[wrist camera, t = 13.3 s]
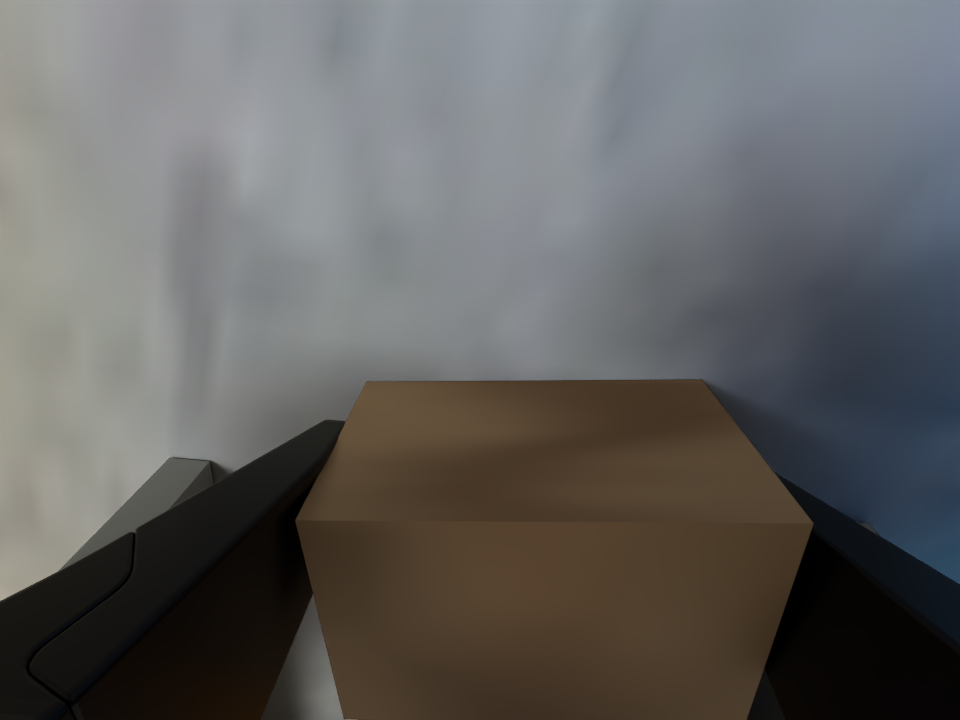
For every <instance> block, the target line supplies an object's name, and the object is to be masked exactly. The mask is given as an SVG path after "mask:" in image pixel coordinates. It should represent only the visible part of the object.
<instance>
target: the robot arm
mask: <svg viewBox="0 0 960 720" xmlns="http://www.w3.org/2000/svg"><path fill="white" fill-rule="evenodd" d="M345 423H346V421H337V420H325V421H322V422H321V423H319V424H317V425H315V426H314V427H312V428H310V429H308V430H307V431H305V432H303V433H301V434H300V435H298V436H296V437H294V438H293V439H291V440H289V441H287V442H286V443H284V444H282V445H280V446H279V447H277V448H275V449H273V450H272V451H270V452H268V453H266V454H265V455H263V456H261V457H259V458H258V459H256V460H254V461H252V462H251V463H249V464H247V465H245V466H244V467H242V468H240V469H238V470H237V471H235V472H233V473H231V474H230V475H228V476H226V477H224V478H223V479H221V480H219V481H217V482H216V483H214V484H212V485H210V486H209V487H207V488H205V489H203V490H202V491H200V492H198V493H196V494H195V495H193V496H191V497H190V498H188V499H186V500H184V501H183V502H181V503H179V504H177V505H176V506H174V507H172V508H170V509H169V510H167V511H165V512H163V513H162V514H160V515H158V516H156V517H154V518H153V519H151V520H149V521H147V522H146V523H144V524H142V525H140V526H139V527H137V528H136V530H135V533H134V532H132V531H131V532H128V533H126V534H124V535H123V536H121V537H119V538H117V539H116V540H114V541H112V542H110V543H109V544H107V545H105V546H103V547H102V548H100V549H98V550H96V551H94V552H93V553H91V554H89V555H87V556H85V557H84V558H82V559H80V560H78V561H76V562H74V563H73V564H71V565H69V566H67V567H65V568H64V569H62V570H60V571H58V572H56V573H54V574H53V575H51V576H49V577H47V578H45V579H43V580H41V581H39V582H37V583H35V584H33V585H31V586H29V587H27V588H25V589H23V590H21V591H19V592H17V593H15V594H13V595H12V596H10V597H8V598H6V599H4V600H2V601H0V720H261V717H262V715H263V712H264V710H265V708H266V705H267V703H268V700H269V698H270V696H271V693H272V691H273V688H274V686H275V684H276V681H277V679H278V676H279V674H280V672H281V669H282V667H283V664H284V662H285V660H286V657H287V655H288V652H289V650H290V648H291V645H292V643H293V640H294V638H295V636H296V633H297V631H298V628H299V626H300V623H301V621H302V619H303V616H304V614H305V611H306V609H307V607H308V604H309V602H310V599H311V597H312V595H313V591H312V587H311V583H310V579H309V575H308V570H307V566H306V562H305V558H304V554H303V550H302V546H301V542H300V538H299V534H298V530H297V526H296V522H295V520H296V518H297V516H298V514H299V512H300V510H301V508H302V506H303V504H304V502H305V500H306V498H307V496H308V495H309V493H310V491H311V489H312V487H313V485H314V483H315V481H316V479H317V477H318V475H319V474H320V472H321V471H322V469H323V468H324V466H325V464H326V462H327V461H328V459H329V457H330V455H331V453H332V451H333V449H334V447H335V445H336V442H337V440H338V437H339V434H340V432H341V430H342V428H343V427H344V425H345ZM774 473H775V472H774ZM775 474H776V473H775ZM776 476H777V477H778V478H779V480H780V481H781V482H782V483H783V485H784V486H785V487H786V489H787V490H788V491H789V492H790V494H791V495H792V496H793V498H794V499H795V500H796V501H797V503H798V504H799V505H800V507H801V508H802V509H803V510H804V512H805V513H806V514H807V516H808V517H809V518H810V519H811V521H812V522H813V523H814V524H813V527H812V530H811V533H810V536H809V539H808V541H807V544H806V547H805V550H804V553H803V556H802V559H801V562H800V565H799V568H798V571H797V574H796V577H795V579H794V582H793V585H792V588H791V591H790V594H789V597H788V600H787V603H786V606H785V609H784V612H783V615H782V617H781V620H780V623H779V626H778V629H777V632H776V635H775V638H774V641H773V644H772V647H771V650H770V653H769V656H768V658H767V661H766V664H765V667H764V669H765V671H766V674H767V676H768V679H769V681H770V684H771V686H772V689H773V691H774V694H775V696H776V699H777V701H778V704H779V706H780V709H781V711H782V714H783V716H784V719H785V720H960V584H958V583H957V582H955V581H953V580H952V579H950V578H948V577H947V576H945V575H943V574H942V573H940V572H938V571H937V570H935V569H933V568H932V567H930V566H928V565H927V564H925V563H924V562H922V561H920V560H919V559H917V558H915V557H914V556H912V555H910V554H909V553H907V552H905V551H904V550H902V549H900V548H899V547H897V546H895V545H894V544H892V543H890V542H889V541H887V540H885V539H884V538H882V537H881V536H879V535H877V534H876V533H874V532H872V531H871V530H869V529H867V528H866V527H864V526H862V525H861V524H859V523H857V522H856V521H854V520H852V519H851V518H849V517H847V516H846V515H844V514H842V513H841V512H839V511H838V510H836V509H834V508H833V507H831V506H829V505H828V504H826V503H824V502H823V501H821V500H819V499H818V498H816V497H814V496H813V495H811V494H809V493H808V492H806V491H804V490H803V489H801V488H800V487H798V486H796V485H795V484H793V483H791V482H790V481H788V480H786V479H785V478H783V477H781V476H780V475H778V474H776Z"/></svg>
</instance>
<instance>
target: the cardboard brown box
mask: <svg viewBox="0 0 960 720" xmlns="http://www.w3.org/2000/svg"><path fill="white" fill-rule="evenodd" d="M295 522H296V526H297V530H298V534H299V538H300V542H301V546H302V550H303V554H304V558H305V562H306V566H307V570H308V575H309V579H310V583H311V587H312V591H313V595H314V599H315V603H316V607H317V611H318V615H319V619H320V623H321V628H322V632H323V636H324V640H325V644H326V648H327V652H328V656H329V660H330V664H331V668H332V672H333V676H334V680H335V685H336V689H337V693H338V697H339V701H340V705H341V709H342V713H343V717H344V719H362V720H747V717H748V714H749V711H750V708H751V705H752V702H753V699H754V696H755V694H756V691H757V688H758V685H759V682H760V679H761V676H762V673H763V670H764V667H765V664H766V661H767V658H768V656H769V653H770V650H771V647H772V644H773V641H774V638H775V635H776V632H777V629H778V626H779V623H780V620H781V617H782V615H783V612H784V609H785V606H786V603H787V600H788V597H789V594H790V591H791V588H792V585H793V582H794V579H795V577H796V574H797V571H798V568H799V565H800V562H801V559H802V556H803V553H804V550H805V547H806V544H807V541H808V539H809V536H810V533H811V530H812V527H813V524H814V523H813V522H812V521H811V519H810V518H809V517H808V516H807V514H806V513H805V512H804V510H803V509H802V508H801V507H800V505H799V504H798V503H797V501H796V500H795V499H794V498H793V496H792V495H791V494H790V492H789V491H788V490H787V489H786V487H785V486H784V485H783V483H782V482H781V481H780V480H779V478H778V477H777V476H776V474H775V473H774V472H773V470H772V469H771V468H770V467H769V465H768V464H767V463H766V461H765V460H764V459H763V458H762V456H761V455H760V454H759V452H758V451H757V450H756V449H755V447H754V446H753V445H752V443H751V442H750V441H749V440H748V438H747V437H746V436H745V434H744V433H743V432H742V431H741V429H740V428H739V427H738V425H737V424H736V423H735V422H734V420H733V419H732V418H731V416H730V415H729V414H728V413H727V411H726V410H725V409H724V407H723V406H722V405H721V404H720V402H719V401H718V400H717V398H716V397H715V396H714V394H713V393H712V392H711V391H710V389H709V388H708V387H707V385H706V384H705V383H704V382H703V380H569V381H424V382H366V384H365V386H364V388H363V390H362V392H361V393H360V395H359V397H358V399H357V401H356V403H355V405H354V407H353V409H352V411H351V413H350V415H349V417H348V419H347V421H346V423H345V425H344V427H343V428H342V430H341V432H340V434H339V437H338V440H337V442H336V445H335V447H334V449H333V451H332V453H331V455H330V457H329V459H328V461H327V462H326V464H325V466H324V468H323V469H322V471H321V472H320V474H319V475H318V477H317V479H316V481H315V483H314V485H313V487H312V489H311V491H310V493H309V495H308V496H307V498H306V500H305V502H304V504H303V506H302V508H301V510H300V512H299V514H298V516H297V518H296V520H295Z"/></svg>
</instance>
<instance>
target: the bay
mask: <svg viewBox="0 0 960 720" xmlns="http://www.w3.org/2000/svg"><path fill="white" fill-rule="evenodd" d="M212 484H214V483H213V477H212V472H211V466H210V461H199V460H188V459H178V458H169V459H168V460H167V461H166V462H165V463H164V464H163V465H162V466H161V467H160V468H159V469H158V470H157V471H156V472H155V473H154V474H153V475H152V476H151V477H150V478H149V479H148V480H147V481H146V482H145V483H144V484H143V485H142V487H141V488H140V489H139V490H138V491H137V492H136V493H135V494H134V495H133V496H132V497H131V498H130V499H129V500H128V501H127V502H126V503H125V504H124V505H123V506H122V507H121V508H120V509H119V510H118V511H117V512H116V513H115V514H114V515H113V516H112V517H111V518H110V519H109V520H108V521H107V522H106V523H105V524H104V525H103V526H102V527H101V528H100V529H99V530H98V531H97V532H96V533H95V534H94V535H93V536H92V537H91V538H90V539H89V540H88V541H87V543H86V544H85V545H84V546H83V547H82V548H81V549H80V550H79V551H78V552H77V553H76V554H75V555H74V556H73V557H72V558H71V559H70V560H69V561H68V562H67V563H66V564H65V565H64V566H63V567H62V568H61V569H60V570H62V569H64V568H65V567H67V566H69V565H71V564H73V563H74V562H76V561H78V560H80V559H82V558H84V557H85V556H87V555H89V554H91V553H93V552H94V551H96V550H98V549H100V548H102V547H103V546H105V545H107V544H109V543H110V542H112V541H114V540H116V539H117V538H119V537H121V536H123V535H124V534H126V533H128V532H131V531H132V532H134V533H135V530H136V528H137V527H139V526H140V525H142V524H144V523H146V522H147V521H149V520H151V519H153V518H154V517H156V516H158V515H160V514H162V513H163V512H165V511H167V510H169V509H170V508H172V507H174V506H176V505H177V504H179V503H181V502H183V501H184V500H186V499H188V498H190V497H191V496H193V495H195V494H196V493H198V492H200V491H202V490H203V489H205V488H207V487H209V486H210V485H212ZM857 523H859V522H857ZM859 524H861V525H862V526H864V527H866V528H867V529H869V530H871V531H872V532H874V533H876V534H877V535H879V534H878V533H877V532H876V531H875V529H874V528H873V527H872V526H871V525H870V524H869V523H859ZM879 536H880V535H879ZM60 570H59V571H60ZM747 720H785V719H784V716H783V714H782V711H781V709H780V706H779V704H778V701H777V699H776V696H775V694H774V691H773V689H772V686H771V684H770V681H769V679H768V676H767V674H766V671H765V669H764V670H763V673H762V676H761V679H760V682H759V685H758V688H757V691H756V694H755V696H754V699H753V702H752V705H751V708H750V711H749V714H748V717H747Z"/></svg>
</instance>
